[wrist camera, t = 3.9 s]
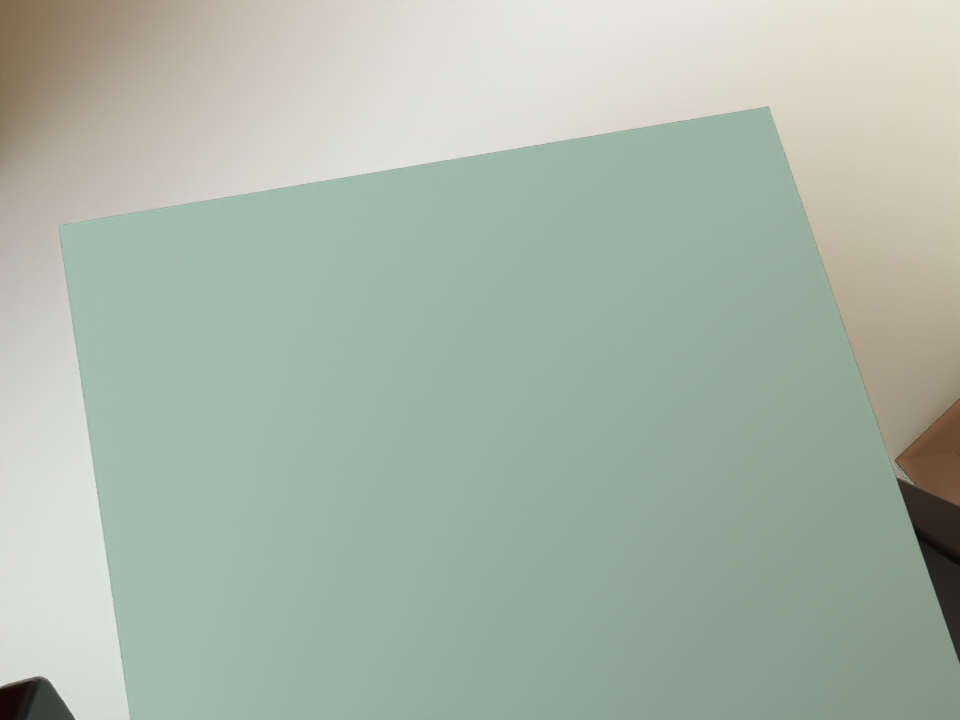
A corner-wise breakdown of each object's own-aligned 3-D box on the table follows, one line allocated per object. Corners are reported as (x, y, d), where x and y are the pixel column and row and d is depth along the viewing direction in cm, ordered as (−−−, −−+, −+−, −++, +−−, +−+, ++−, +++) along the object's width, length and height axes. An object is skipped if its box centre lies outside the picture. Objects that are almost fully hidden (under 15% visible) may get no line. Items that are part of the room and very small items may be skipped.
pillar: (543, 602, 17) (1013, 822, 4) (343, 656, 16) (187, 1125, 3) (495, 407, 18) (769, 106, 5) (302, 450, 17) (59, 226, 4)
